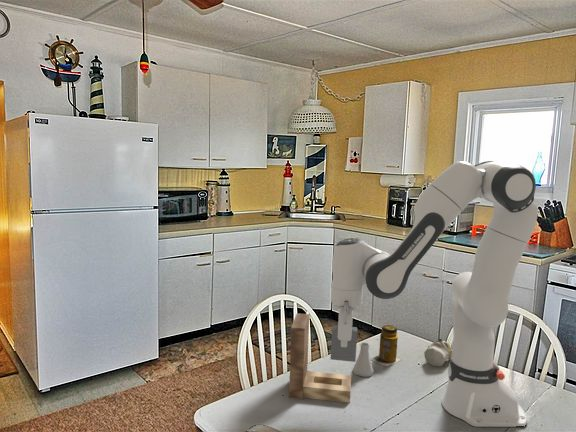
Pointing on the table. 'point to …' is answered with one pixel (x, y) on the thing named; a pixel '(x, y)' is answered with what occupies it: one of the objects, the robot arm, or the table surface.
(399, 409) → the table surface
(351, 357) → the brushed steel bar
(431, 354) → the ceramic sculpture
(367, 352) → the flask
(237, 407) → the table surface
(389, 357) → the condiment
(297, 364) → the tan slotted wooden fixture
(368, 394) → the table surface
